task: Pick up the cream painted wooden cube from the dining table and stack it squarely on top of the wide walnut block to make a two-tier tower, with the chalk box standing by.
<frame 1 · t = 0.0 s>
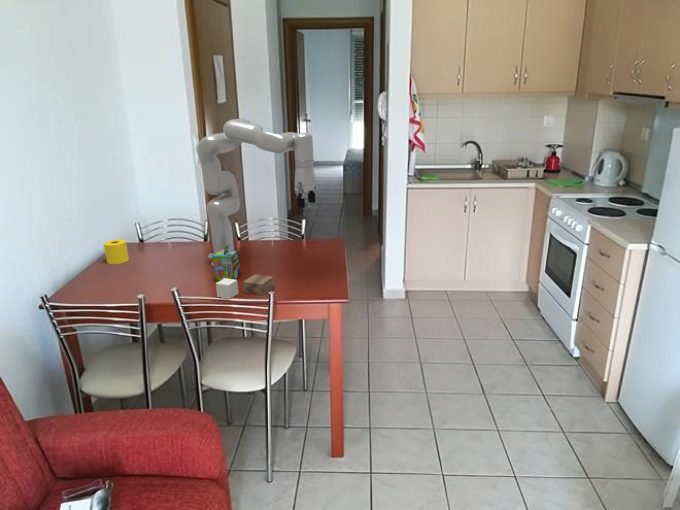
hand: (306, 204, 221), 31 cm above the table, fingers open, 9 cm apart
walnut block: (259, 290, 216), on the table
cream cube: (228, 295, 212), on the table
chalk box: (227, 278, 231), on the table
tape roll: (118, 261, 259), on the table
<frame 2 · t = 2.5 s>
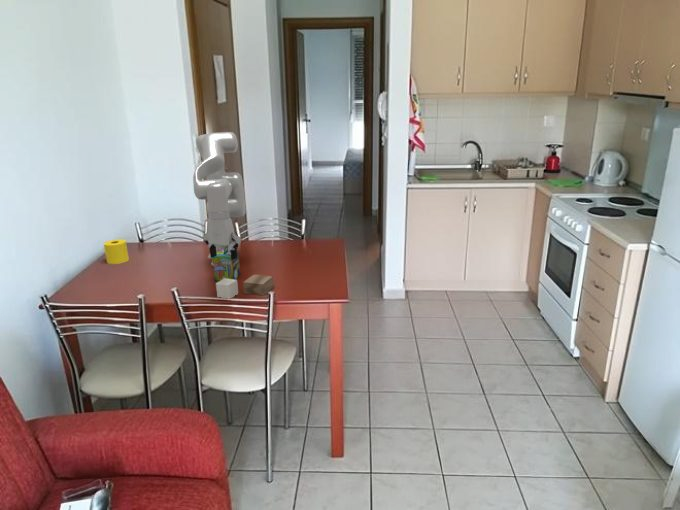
hand: (223, 257, 206), 16 cm above the table, fingers open, 9 cm apart
nothing on the table moved.
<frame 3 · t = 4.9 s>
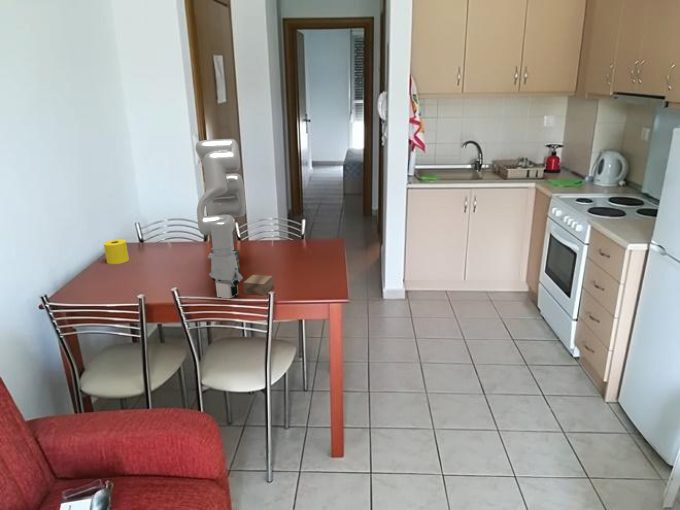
hand: (227, 293, 211), 1 cm above the table, fingers closed on cream cube, 6 cm apart
cream cube: (227, 295, 212), on the table, touching gripper
everything else where it was.
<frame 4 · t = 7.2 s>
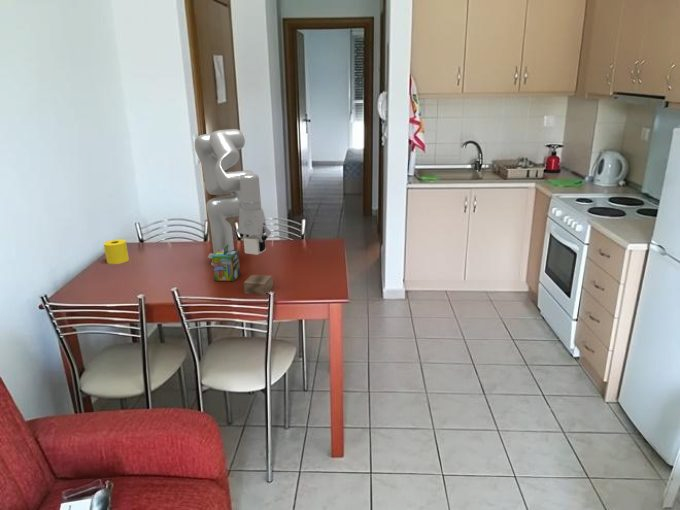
hand: (255, 249, 210), 17 cm above the table, fingers closed on cream cube, 6 cm apart
cream cube: (255, 251, 211), point 17 cm above the table, touching gripper
everything else where it was.
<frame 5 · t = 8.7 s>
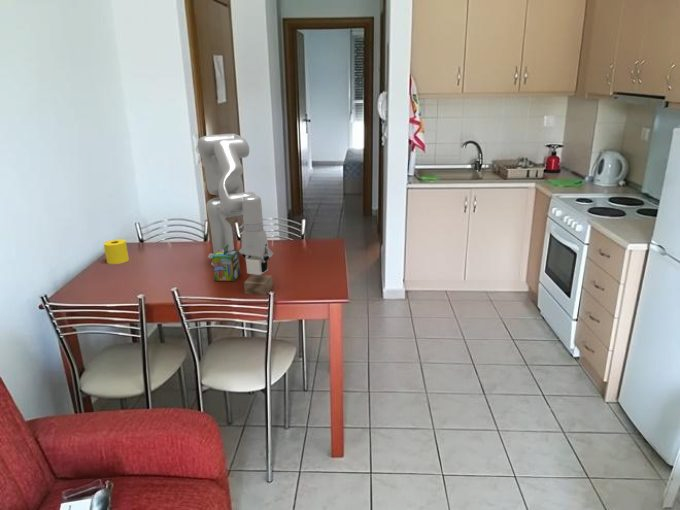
hand: (257, 269, 213), 9 cm above the table, fingers closed on cream cube, 6 cm apart
cream cube: (257, 271, 213), point 8 cm above the table, touching gripper
everything else where it was.
when the fingers open (7 cm above the table, at t = 10.0 s): cream cube drops 1 cm, point 5 cm above the table.
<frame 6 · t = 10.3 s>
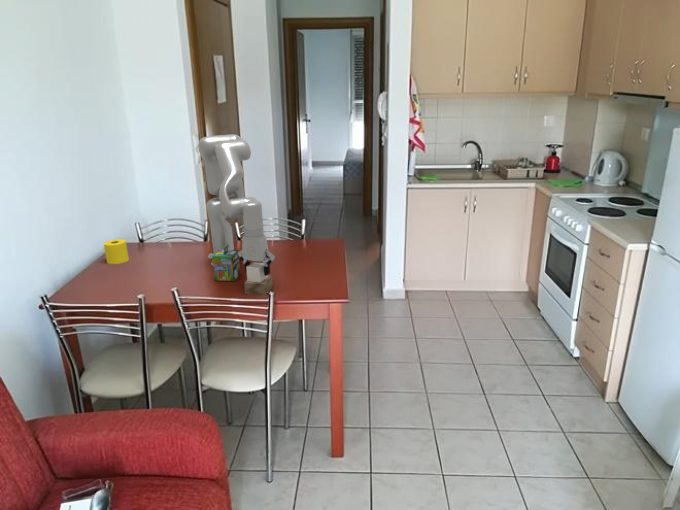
hand: (257, 273, 214), 7 cm above the table, fingers open, 8 cm apart
cream cube: (257, 279, 215), point 5 cm above the table
everything else where it was.
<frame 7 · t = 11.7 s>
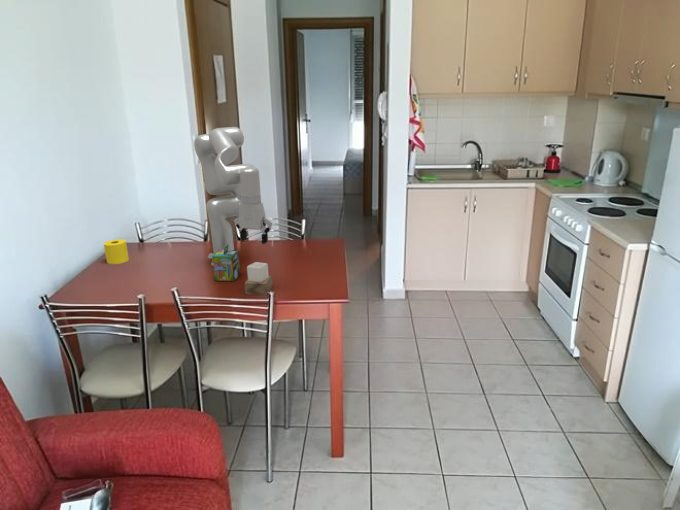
hand: (254, 241, 210), 21 cm above the table, fingers open, 9 cm apart
walnut block: (259, 290, 216), on the table, touching cream cube
cream cube: (258, 278, 215), point 5 cm above the table, touching walnut block
everything else where it was.
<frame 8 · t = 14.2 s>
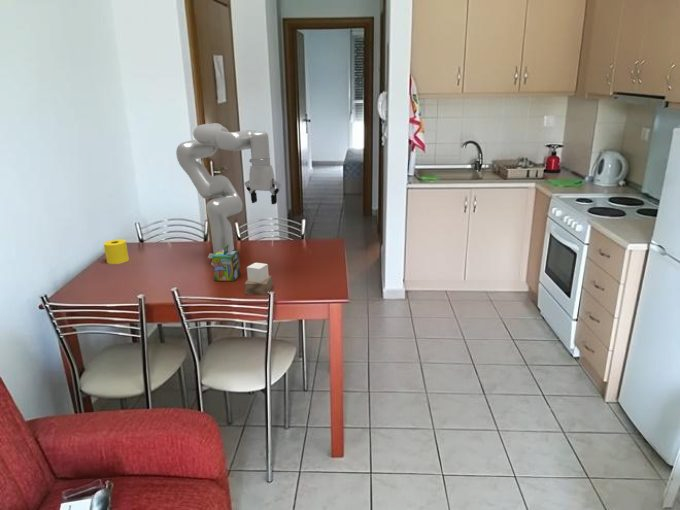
hand: (264, 203, 222), 32 cm above the table, fingers open, 9 cm apart
nothing on the table moved.
at the end: cream cube inside the target area on the walnut block (0.2 cm from its centre), point 5.0 cm above the walnut block's base; cream cube tilted 0°; walnut block tilted 0° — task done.
